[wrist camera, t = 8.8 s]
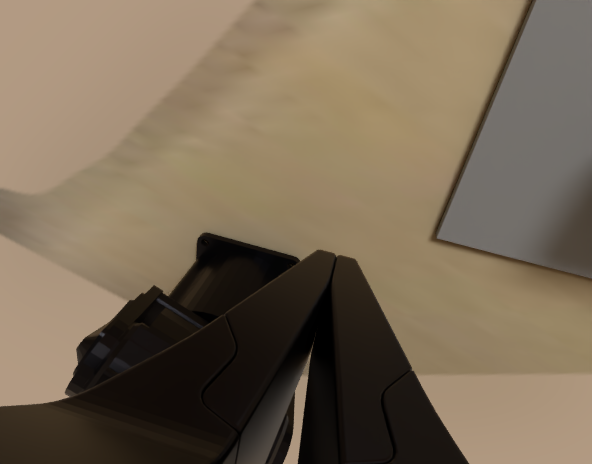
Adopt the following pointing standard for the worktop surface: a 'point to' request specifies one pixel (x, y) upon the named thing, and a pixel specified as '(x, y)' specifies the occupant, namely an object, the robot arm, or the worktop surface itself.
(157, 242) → the worktop surface
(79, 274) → the worktop surface
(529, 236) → the mat
